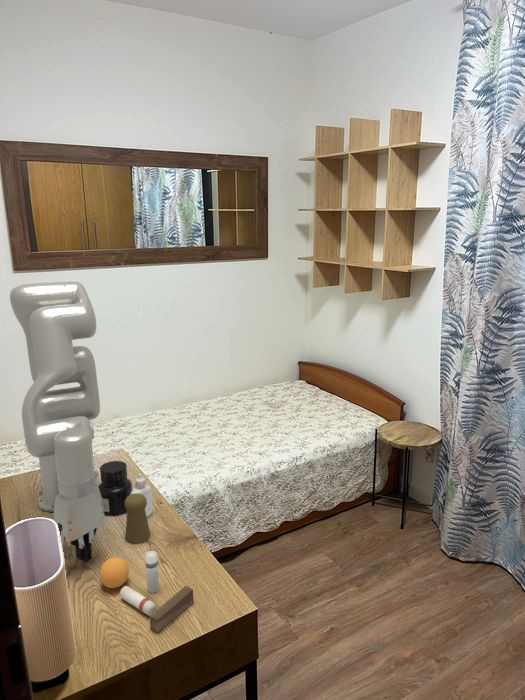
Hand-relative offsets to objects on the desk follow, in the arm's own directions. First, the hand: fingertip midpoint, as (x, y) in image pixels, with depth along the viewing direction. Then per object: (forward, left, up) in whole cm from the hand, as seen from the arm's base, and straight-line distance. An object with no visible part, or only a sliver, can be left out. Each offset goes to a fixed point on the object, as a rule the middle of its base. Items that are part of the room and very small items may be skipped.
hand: (84, 558), depth 117 cm
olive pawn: (+2, +14, -2) cm, 14 cm away
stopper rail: (+27, 0, -2) cm, 27 cm away
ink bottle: (-13, +20, -2) cm, 24 cm away
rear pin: (+18, +3, -2) cm, 19 cm away
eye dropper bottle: (-4, +21, -2) cm, 21 cm away
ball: (+11, -1, +2) cm, 11 cm away
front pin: (+15, -2, 0) cm, 15 cm away
